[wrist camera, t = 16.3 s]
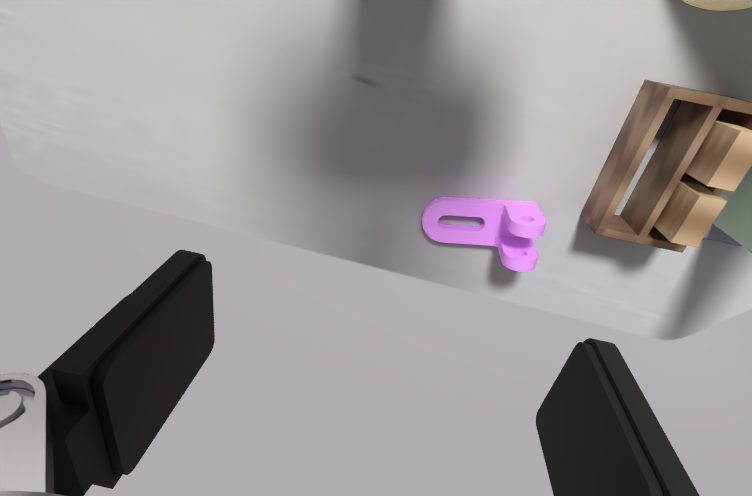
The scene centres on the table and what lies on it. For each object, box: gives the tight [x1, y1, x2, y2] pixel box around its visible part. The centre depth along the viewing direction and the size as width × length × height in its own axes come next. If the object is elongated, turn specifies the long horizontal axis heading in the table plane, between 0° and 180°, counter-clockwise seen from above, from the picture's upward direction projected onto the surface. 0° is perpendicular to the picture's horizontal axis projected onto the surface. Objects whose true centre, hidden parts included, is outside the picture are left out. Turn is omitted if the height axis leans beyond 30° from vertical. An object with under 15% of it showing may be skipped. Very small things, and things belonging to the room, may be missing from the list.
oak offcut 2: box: [653, 174, 727, 248], centre depth 42 cm, size 5×2×8 cm, turn 170°
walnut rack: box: [581, 80, 752, 252], centre depth 42 cm, size 15×9×5 cm, turn 170°
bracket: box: [422, 197, 546, 272], centre depth 47 cm, size 13×6×7 cm, turn 90°
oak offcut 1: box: [685, 118, 752, 191], centre depth 39 cm, size 5×2×8 cm, turn 170°
